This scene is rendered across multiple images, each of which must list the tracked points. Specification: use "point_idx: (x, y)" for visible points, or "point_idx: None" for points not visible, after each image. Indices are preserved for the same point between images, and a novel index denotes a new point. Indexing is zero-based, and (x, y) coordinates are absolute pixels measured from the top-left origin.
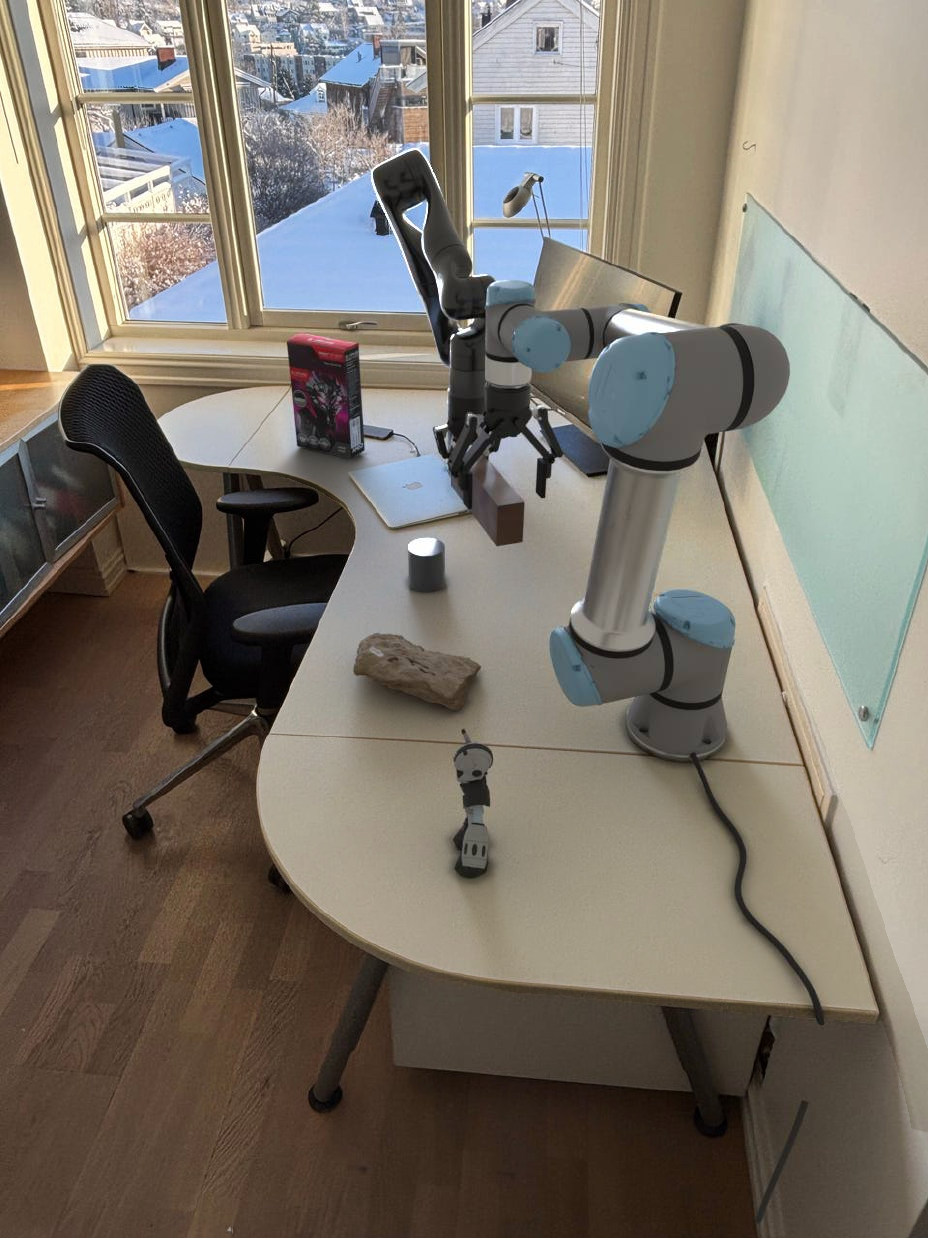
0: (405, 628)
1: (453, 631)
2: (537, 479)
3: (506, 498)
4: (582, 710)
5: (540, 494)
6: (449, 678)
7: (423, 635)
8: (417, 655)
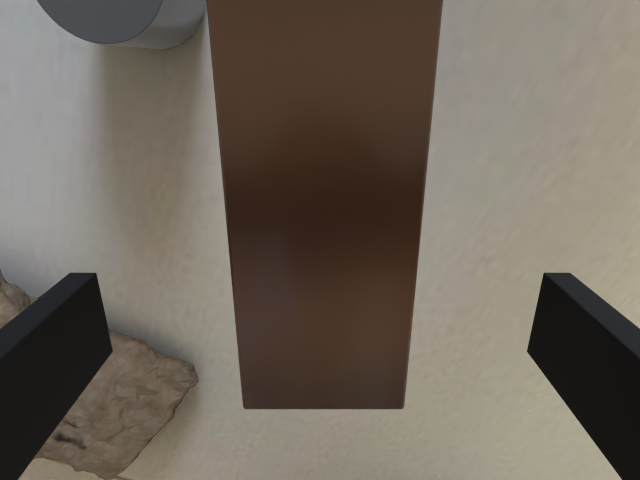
0: (75, 192)
1: (181, 234)
2: (595, 347)
3: (320, 352)
4: (332, 474)
5: (538, 349)
6: (111, 460)
7: (113, 229)
8: None
